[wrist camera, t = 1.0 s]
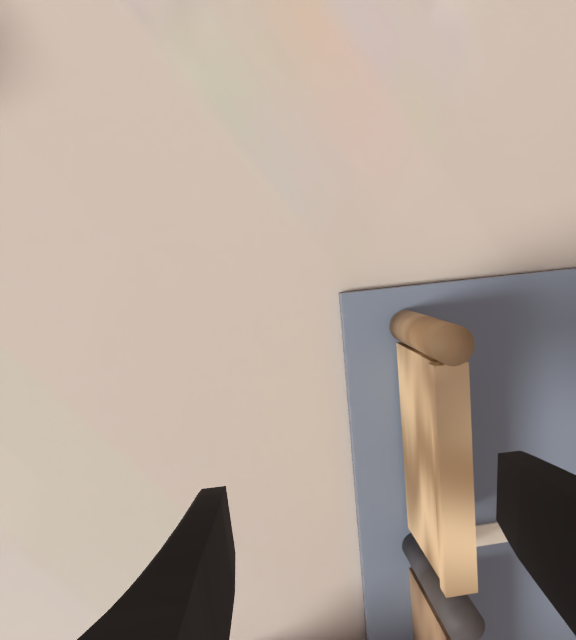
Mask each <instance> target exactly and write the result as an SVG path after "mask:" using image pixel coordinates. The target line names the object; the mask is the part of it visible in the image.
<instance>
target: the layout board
mask: <svg viewBox="0 0 576 640" xmlns="http://www.w3.org/2000/svg"><path fill="white" fill-rule="evenodd" d="M339 299H340V312H341V324H342V336H343V349H344V361H345V374H346V386H347V399H348V411H349V423H350V436H351V448H352V461H353V473H354V485H355V498H356V510H357V523H358V535H359V547H360V560H361V572H362V585H363V597H364V610H365V622H366V634H367V640H413V626H412V610H411V594H410V579H409V568H411V565H410V563H409V561H408V559H407V558H406V556H405V554H404V552H403V550H402V543H403V540H404V538H405V537H406V536H407V535H408V534H409V533H411V531H410V530H409V528H408V520H407V504H406V488H405V472H404V457H403V441H402V425H401V409H400V394H399V378H398V362H397V346H396V343H397V342H400V341H398V340H397V339H395V338H394V337H393V336H392V334H391V332H390V328H389V324H390V320H391V318H392V317H393V315H394V314H396V313H397V312H399V311H401V310H410V311H414V312H417V313H420V314H424V315H427V316H430V317H434V318H437V319H440V320H444V321H447V322H450V323H454V324H457V325H460V326H463V327H465V328H467V329H468V330H469V331H470V332H471V334H472V336H473V338H474V350H473V353H472V355H471V357H470V358H469V359H468V360H467V362H469V378H470V403H471V427H472V452H473V477H474V501H475V526H476V550H477V575H478V593H473V594H467V595H468V596H469V598H470V599H471V601H472V602H473V604H474V605H475V607H476V608H477V610H478V611H479V613H480V614H481V616H482V617H483V619H484V621H485V631H484V634H483V635H482V637H481V638H480V639H479V640H576V636H575V635H574V633H573V632H572V631H571V629H570V628H569V627H568V625H567V624H566V623H565V621H564V620H563V618H562V617H561V616H560V614H559V613H558V612H557V610H556V609H555V608H554V606H553V605H552V604H551V602H550V601H549V600H548V598H547V597H546V596H545V594H544V593H543V592H542V590H541V589H540V588H539V586H538V585H537V584H536V582H535V581H534V580H533V578H532V577H531V575H530V574H529V573H528V571H527V570H526V569H525V567H524V566H523V564H522V563H521V562H520V560H519V559H518V557H517V556H516V554H515V553H514V551H513V549H512V548H511V546H510V544H509V542H508V541H507V539H506V537H505V535H504V533H503V532H502V530H501V528H500V526H499V524H498V522H497V521H496V504H497V466H498V453H504V452H513V451H523V452H526V453H528V454H531V455H533V456H535V457H538V458H540V459H542V460H544V461H547V462H549V463H551V464H553V465H555V466H557V467H560V468H562V469H564V470H566V471H568V472H570V473H572V474H575V475H576V268H569V269H560V270H550V271H541V272H531V273H522V274H512V275H503V276H493V277H484V278H474V279H465V280H455V281H446V282H436V283H427V284H417V285H408V286H398V287H389V288H379V289H370V290H360V291H351V292H341V293H339Z"/></svg>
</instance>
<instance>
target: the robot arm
mask: <svg viewBox="0 0 576 640" xmlns="http://www.w3.org/2000/svg"><path fill="white" fill-rule="evenodd" d="M496 521H497V522H498V524H499V526H500V528H501V530H502V532H503V533H504V535H505V537H506V539H507V541H508V542H509V544H510V546H511V548H512V549H513V551H514V553H515V554H516V556H517V557H518V559H519V560H520V562H521V563H522V564H523V566H524V567H525V569H526V570H527V571H528V573H529V574H530V575H531V577H532V578H533V580H534V581H535V582H536V584H537V585H538V586H539V588H540V589H541V590H542V592H543V593H544V594H545V596H546V597H547V598H548V600H549V601H550V602H551V604H552V605H553V606H554V608H555V609H556V610H557V612H558V613H559V614H560V616H561V617H562V618H563V620H564V621H565V623H566V624H567V625H568V627H569V628H570V629H571V631H572V632H573V633H574V635H575V636H576V475H575V474H572V473H570V472H568V471H566V470H564V469H562V468H560V467H557V466H555V465H553V464H551V463H549V462H547V461H544V460H542V459H540V458H538V457H535V456H533V455H531V454H528V453H526V452H523V451H513V452H504V453H498V466H497V504H496ZM234 595H235V547H234V540H233V534H232V527H231V520H230V513H229V506H228V499H227V492H226V486H223V487H215V488H206V489H202V490H201V491H200V492H199V493H198V495H197V496H196V498H195V500H194V501H193V503H192V504H191V506H190V508H189V509H188V511H187V512H186V514H185V515H184V517H183V518H182V520H181V521H180V523H179V524H178V526H177V527H176V529H175V530H174V531H173V533H172V534H171V536H170V537H169V538H168V540H167V541H166V543H165V544H164V546H163V547H162V548H161V550H160V551H159V552H158V553H157V555H156V556H155V557H154V559H153V560H152V561H151V562H150V564H149V565H148V566H147V567H146V569H145V570H144V571H143V572H142V574H141V575H140V576H139V577H138V578H137V580H136V581H135V582H134V583H133V584H132V585H131V587H130V588H129V589H128V590H127V591H126V592H125V593H124V594H123V596H122V597H121V598H120V599H119V600H118V601H117V602H116V603H115V604H114V605H113V606H112V607H111V608H110V609H109V610H108V611H107V612H106V613H105V614H104V615H103V616H102V617H101V618H100V619H99V620H98V621H97V622H96V623H95V624H93V625H92V626H91V627H90V628H89V629H88V630H87V631H86V632H85V633H84V634H83V635H82V636H81V637H79V638H78V639H77V640H229V636H230V628H231V620H232V612H233V604H234Z"/></svg>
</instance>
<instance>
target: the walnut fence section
mask: <svg viewBox="0 0 576 640" xmlns="http://www.w3.org/2000/svg"><path fill="white" fill-rule="evenodd" d="M402 550H403V552H404V554H405V556H406V558H407V559H408V561H409V563H410V565H411V568H409V579H410V594H411V610H412V626H413V640H479V639H480V638H481V637H482V635H483V634H484V631H485V621H484V619H483V617H482V616H481V614H480V613H479V611H478V610H477V608H476V607H475V605H474V604H473V602H472V601H471V599H470V598H469V596H468V595H461V596H455V597H449V598H446V597H445V595H444V593H443V592H442V590H441V588H440V579H439V577H438V575H437V574H436V572H435V570H434V569H433V567H432V566H431V564H430V562H429V561H428V559H427V557H426V556H425V554H424V552H423V551H422V549H421V548H420V546H419V544H418V543H417V541H416V539H415V538H414V536H413V535H412V533H409V534H408V535H407V536H406V537H405V538H404V540H403V543H402Z"/></svg>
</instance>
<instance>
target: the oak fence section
mask: <svg viewBox="0 0 576 640" xmlns="http://www.w3.org/2000/svg"><path fill="white" fill-rule="evenodd" d="M389 328H390V332H391V334H392V336H393V337H394V338H395V339H397V340H398V341H400V342H397V343H396V346H397V362H398V378H399V394H400V409H401V425H402V441H403V457H404V472H405V488H406V504H407V520H408V528H409V530H410V531H411V533H412V535H413V536H414V538H415V539H416V541H417V543H418V544H419V546H420V548H421V549H422V551H423V552H424V554H425V556H426V557H427V559H428V561H429V562H430V564H431V566H432V567H433V569H434V570H435V572H436V574H437V575H438V577H439V579H440V588H441V590H442V592H443V593H444V595H445V597H446V598H449V597H455V596H461V595H467V594H473V593H478V575H477V550H476V526H475V501H474V477H473V452H472V427H471V403H470V378H469V362H467V360H468V359H469V358H470V357H471V355H472V353H473V350H474V338H473V336H472V334H471V332H470V331H469V330H468V329H467V328H465V327H463V326H460V325H457V324H454V323H450V322H447V321H444V320H440V319H437V318H434V317H430V316H427V315H424V314H420V313H417V312H414V311H410V310H401V311H399V312H397V313H396V314H394V315H393V317H392V318H391V320H390V324H389Z"/></svg>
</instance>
